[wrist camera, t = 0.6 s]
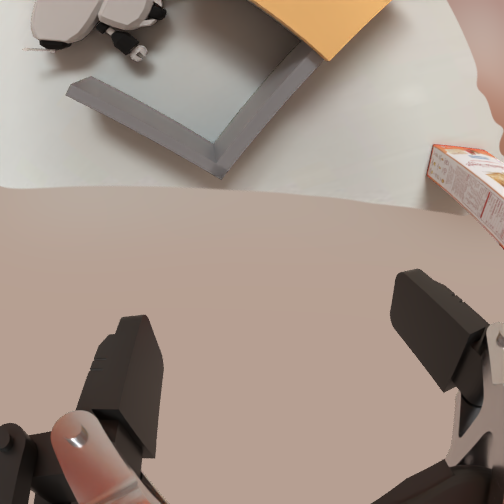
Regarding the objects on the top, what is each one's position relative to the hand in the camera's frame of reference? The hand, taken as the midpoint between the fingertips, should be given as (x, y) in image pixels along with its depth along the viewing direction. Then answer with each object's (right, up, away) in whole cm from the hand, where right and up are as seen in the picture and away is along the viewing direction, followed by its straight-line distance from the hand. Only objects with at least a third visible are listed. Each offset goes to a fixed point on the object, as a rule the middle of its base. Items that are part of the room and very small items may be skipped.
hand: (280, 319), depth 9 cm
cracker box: (+33, +17, +30) cm, 48 cm away
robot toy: (-16, +28, +11) cm, 34 cm away
